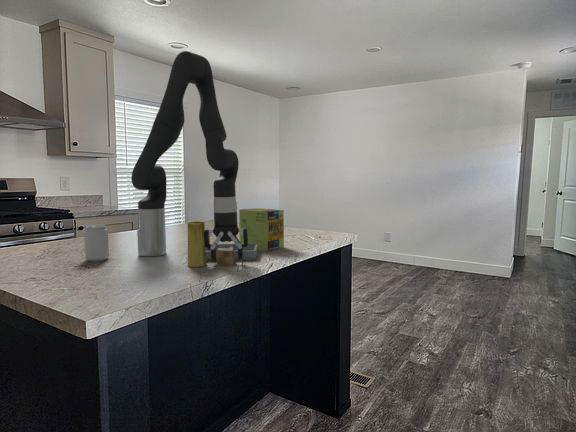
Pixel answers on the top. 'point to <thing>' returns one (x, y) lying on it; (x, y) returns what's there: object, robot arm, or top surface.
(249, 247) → the tray
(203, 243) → the vase
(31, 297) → the top surface
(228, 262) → the walnut cube
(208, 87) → the robot arm
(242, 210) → the protein box
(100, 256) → the can
